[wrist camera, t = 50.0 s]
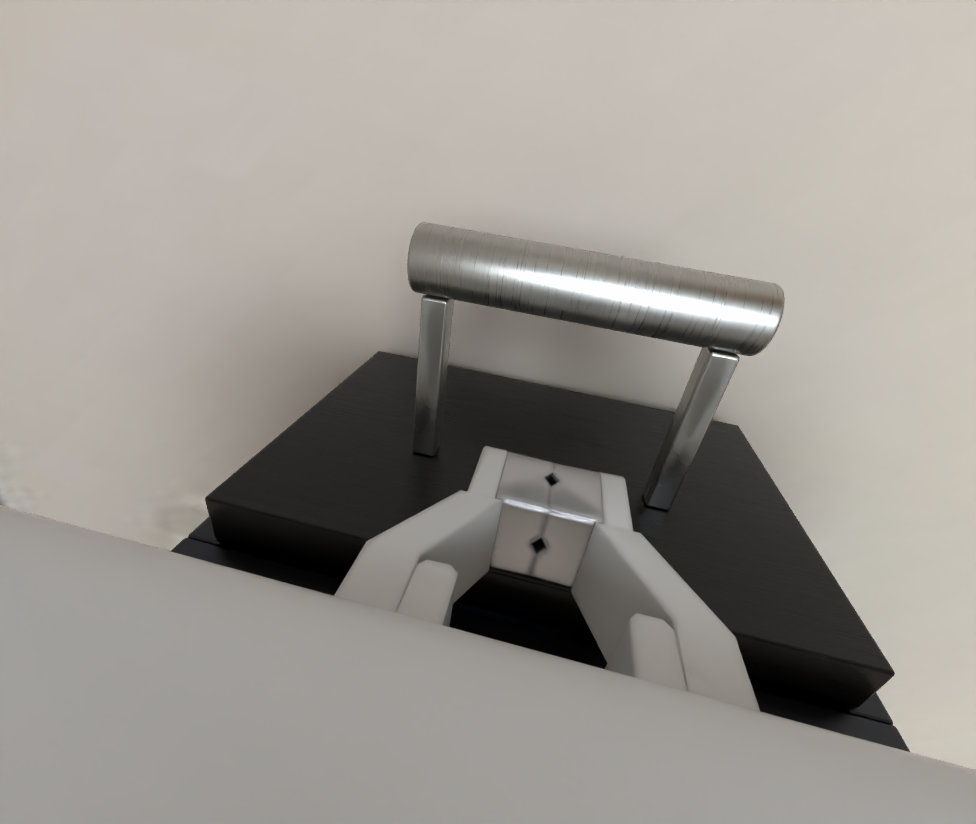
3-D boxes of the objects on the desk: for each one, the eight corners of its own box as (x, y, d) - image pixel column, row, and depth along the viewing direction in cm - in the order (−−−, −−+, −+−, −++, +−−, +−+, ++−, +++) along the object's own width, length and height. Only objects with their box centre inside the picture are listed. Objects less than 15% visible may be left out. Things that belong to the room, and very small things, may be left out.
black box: (373, 366, 18) (154, 564, 9) (733, 443, 16) (926, 776, 7) (373, 604, 26) (256, 840, 16) (617, 670, 24) (639, 969, 15)
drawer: (380, 190, 14) (127, 204, 6) (819, 264, 12) (1200, 400, 5) (376, 594, 24) (278, 791, 16) (619, 659, 22) (639, 908, 15)
